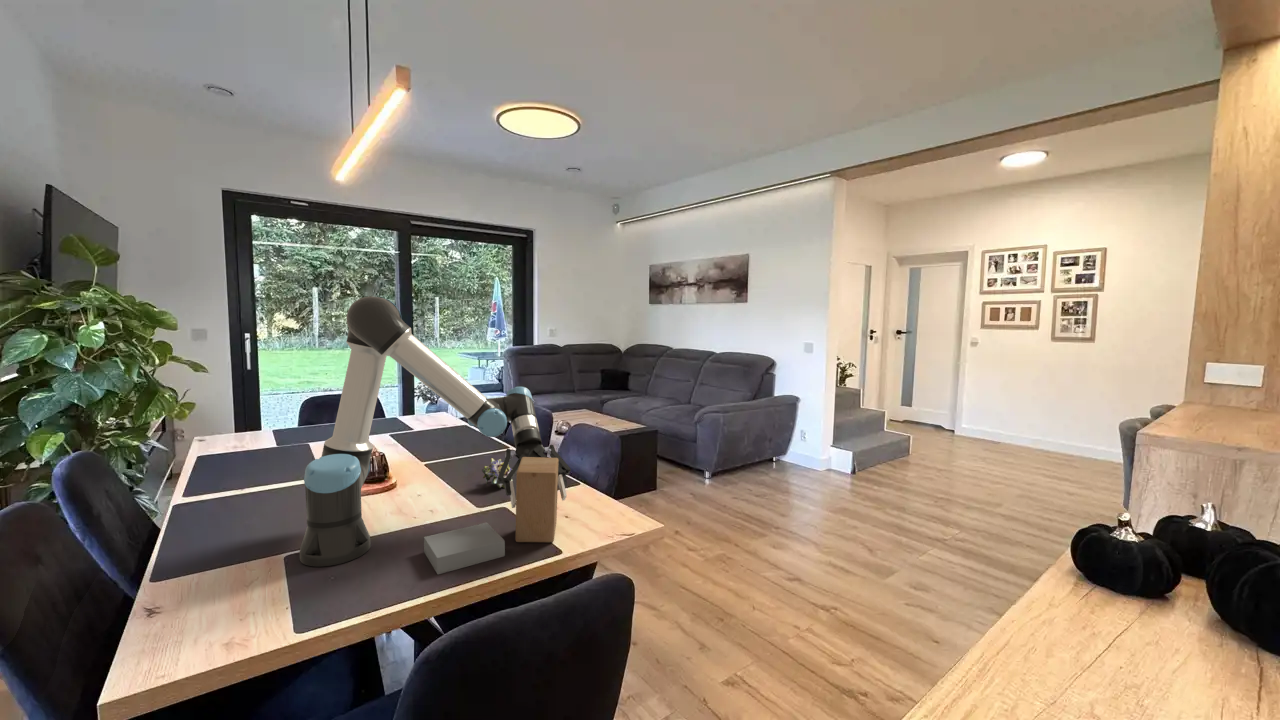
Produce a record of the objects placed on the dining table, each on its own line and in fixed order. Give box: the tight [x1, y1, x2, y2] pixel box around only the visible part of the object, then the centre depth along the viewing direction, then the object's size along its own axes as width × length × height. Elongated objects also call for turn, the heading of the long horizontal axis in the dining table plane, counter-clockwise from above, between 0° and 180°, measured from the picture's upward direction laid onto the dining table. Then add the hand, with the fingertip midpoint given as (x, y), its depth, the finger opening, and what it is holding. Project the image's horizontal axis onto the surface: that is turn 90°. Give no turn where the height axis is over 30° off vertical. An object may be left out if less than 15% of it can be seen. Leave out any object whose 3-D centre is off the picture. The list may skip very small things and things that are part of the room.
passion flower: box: [481, 457, 514, 489], centre depth 175 cm, size 11×11×12 cm
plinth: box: [423, 521, 506, 575], centre depth 126 cm, size 16×13×4 cm
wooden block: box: [515, 457, 559, 543], centre depth 135 cm, size 10×10×20 cm
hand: (539, 502), depth 135 cm, fingers open, 13 cm apart
